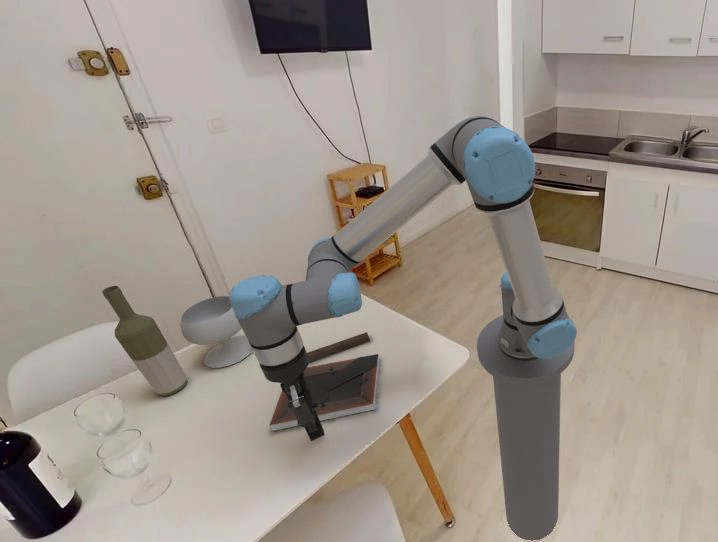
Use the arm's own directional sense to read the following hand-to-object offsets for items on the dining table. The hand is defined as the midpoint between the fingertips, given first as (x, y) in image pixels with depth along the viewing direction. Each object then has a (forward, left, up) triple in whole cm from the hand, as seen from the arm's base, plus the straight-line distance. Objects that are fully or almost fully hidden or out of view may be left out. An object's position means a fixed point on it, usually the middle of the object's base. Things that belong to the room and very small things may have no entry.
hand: (317, 435), depth 87 cm
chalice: (+18, -43, -2) cm, 46 cm away
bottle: (+30, -36, -2) cm, 47 cm away
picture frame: (-4, -13, -2) cm, 13 cm away
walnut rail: (-4, -28, -2) cm, 28 cm away
